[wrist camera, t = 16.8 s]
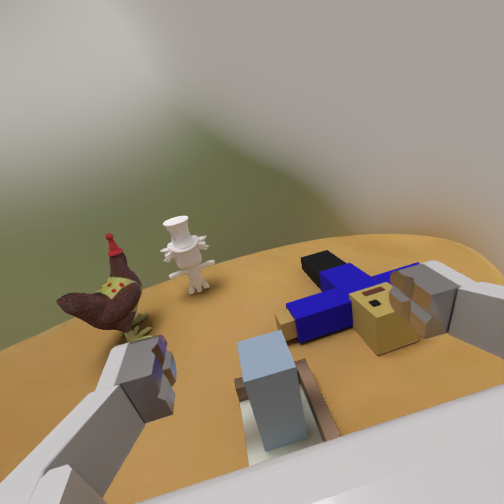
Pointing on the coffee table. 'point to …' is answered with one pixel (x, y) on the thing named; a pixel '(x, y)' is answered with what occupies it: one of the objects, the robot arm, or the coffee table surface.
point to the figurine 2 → (186, 252)
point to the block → (273, 389)
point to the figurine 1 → (111, 300)
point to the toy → (346, 306)
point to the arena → (314, 414)
